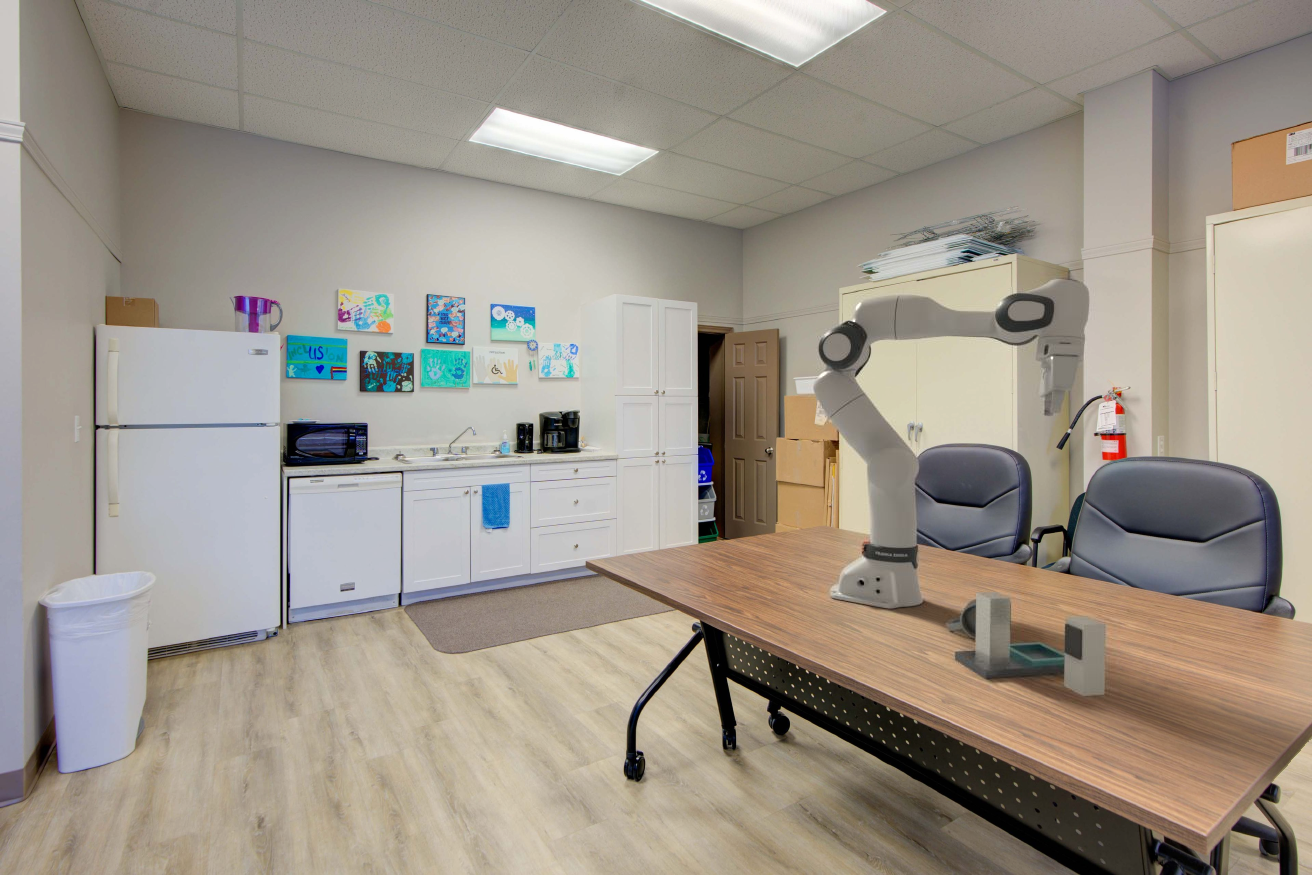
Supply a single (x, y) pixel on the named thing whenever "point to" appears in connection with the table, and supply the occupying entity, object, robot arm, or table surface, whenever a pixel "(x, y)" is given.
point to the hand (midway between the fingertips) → (1051, 414)
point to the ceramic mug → (965, 620)
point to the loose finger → (1085, 655)
